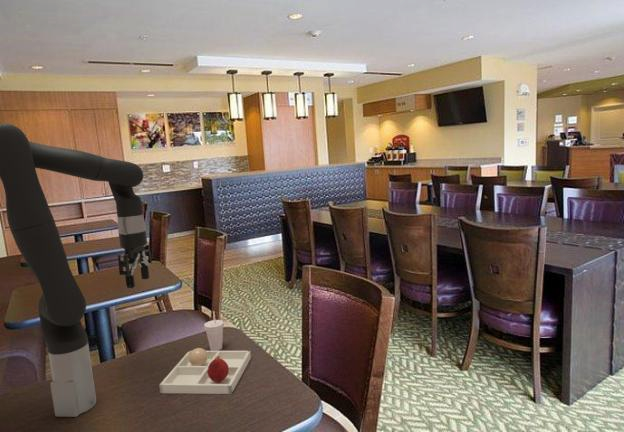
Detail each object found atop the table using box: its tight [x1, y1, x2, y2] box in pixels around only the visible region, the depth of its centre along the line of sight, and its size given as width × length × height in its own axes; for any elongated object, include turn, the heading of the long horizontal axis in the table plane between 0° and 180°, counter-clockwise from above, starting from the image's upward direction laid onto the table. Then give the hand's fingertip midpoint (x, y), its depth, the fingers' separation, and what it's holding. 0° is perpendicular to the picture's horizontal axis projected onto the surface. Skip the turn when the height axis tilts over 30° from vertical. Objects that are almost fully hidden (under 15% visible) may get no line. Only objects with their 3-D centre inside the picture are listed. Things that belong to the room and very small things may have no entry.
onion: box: [208, 356, 229, 383], centre depth 121 cm, size 6×6×8 cm
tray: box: [158, 350, 252, 395], centre depth 127 cm, size 20×20×3 cm
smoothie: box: [203, 310, 224, 351], centre depth 143 cm, size 6×6×14 cm
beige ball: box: [189, 347, 208, 366], centre depth 132 cm, size 6×6×6 cm
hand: (138, 283), depth 129 cm, fingers open, 8 cm apart
